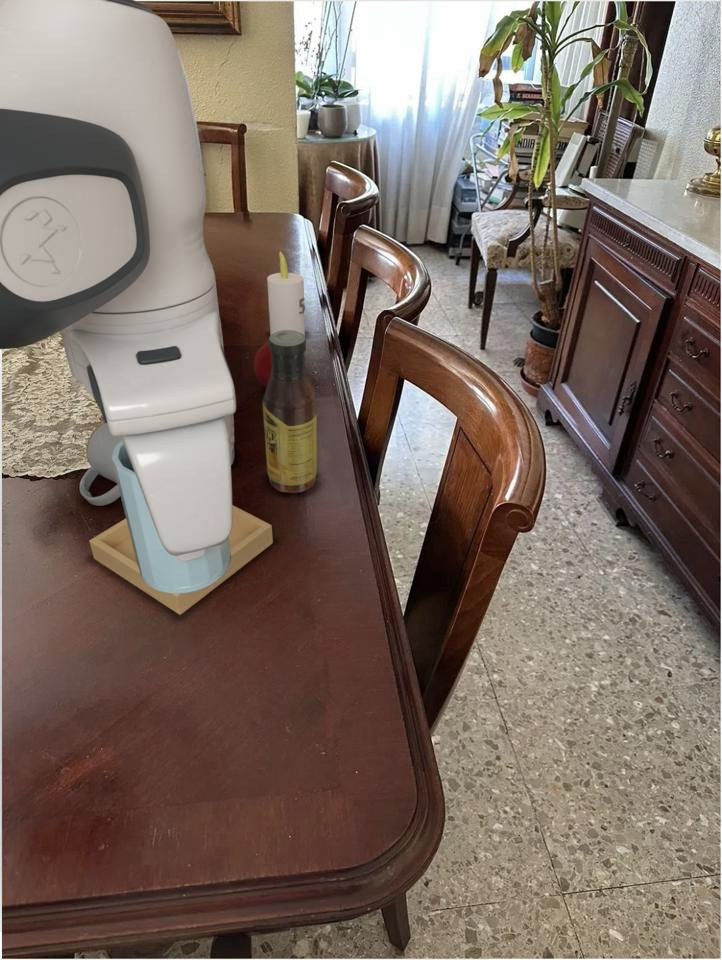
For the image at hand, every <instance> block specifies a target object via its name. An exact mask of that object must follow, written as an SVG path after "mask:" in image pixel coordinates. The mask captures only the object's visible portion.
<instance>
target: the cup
mask: <svg viewBox="0 0 722 960" xmlns="http://www.w3.org/2000/svg"><path fill="white" fill-rule="evenodd" d="M112 462H113V466H114V470H115V474H116V479H117V483H118V487H119V491H120V495H121V496H120V498H121V503H122V507H123V512H124V515H125V519H126V520H127V524H128V528H129V532H130V536H131V540H132V545H133V549H134V553H135V557H136V561H137V565H138V568H139V570H140V574H141V577H142V578H143V580H144V581H145V582H146V584H148V585H149V586H150V587H152V588H154V589H156V590H158V591H161V592H165V593H174V594H180V593H189V592H194V591H197V590H200V589H203V588H205V587H208V586H209V585H211V584H213V583H214V582H216V581H217V580H218V579H220V578H221V577H222V576H223V575H224V574H225V572H226V571H227V569H228V567H229V565H230V562H231V552H230V539H229V538H228V539H227V541H226V542H225V543H223V544H221V545H218V546H215V547H211V548H208V549H205V554H204V555H203V556H202V557H200V558H197V559H194V560H190V561H186V562H182V561H179V560H178V558H177V556H173V555H170V554H168V553H167V551H166V550H165V549H164V547H163V545H162V543H161V541H160V538H159V536H158V534H157V531H156V529H155V526H154V523H153V521H152V518H151V515H150V512H149V510H148V507H147V504H146V502H145V499H144V496H143V493H142V491H141V488H140V485H139V482H138V479H137V477H136V474H135V471H134V469H133V466H132V463H131V461H130V458H129V456H128V453H127V451H126V448H125V446H124V444H123V441H122V440H121V441H120V442H119V443H118V444H117V445H116V446H115V447H114V451H113V455H112ZM117 483H116V484H117Z"/></svg>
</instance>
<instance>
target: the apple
mask: <svg viewBox="0 0 722 960" xmlns="http://www.w3.org/2000/svg"><path fill="white" fill-rule="evenodd" d="M271 368H272V363H271V352H270V350H269V341H268V342H266V343H265V344H263V345H262V346H261V347H260V348H258V350H257V352H256V354H255V357H254V361H253V369H254V370H253V371H254V374H255V377H256V379H257V381H258V382H259V384H260V385H261V386H263V387H264V388H265V389H266V387H267V384H268V381H269V378H270V375H271Z"/></svg>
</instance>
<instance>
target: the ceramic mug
mask: <svg viewBox="0 0 722 960" xmlns="http://www.w3.org/2000/svg"><path fill="white" fill-rule="evenodd" d="M121 440H122V439H121V437H120V436H117V437H115V436H113V435H112V434H111V433H110V431H109V428H108V424H107V423H105V422H103V423H101V424H100V425H98V426H97V427H96V428H95V429H94V430H93V431H92V433H91V434H90V435H89V438H88V440H87V443H86V446H85V447H86V449H85V456H86V460H87V462H88V464H89V465H90V468H88V470H86V472H85V473H84V475H82V478H81V480H80V482H79V492H80V495H81V496H82V497H83V498H84V499H85V500H86V501H87V502H88V503H89V504H90V505H93V506H95V507H103V506H107V505H110V504H112V503H114V502H115V501H117V500H118V499H119V498H121V495H120V491H119V487H118V483H117V479H116V474H115V470H114V466H113V462H112V455H113V451H114V447H115V446H116V445H117V444H118V443H119V442H120V441H121ZM98 475H100V476H102V477H103V478H105V479H108V480H110V481H112V482H114V483H115V484H116V485H115V486H113V487H112V488H111V489H110V490H109V491H107V492H106V493H104V494H101V495H98V496H93V495H92V492H90V487H91V485H92V483H93V481H94V480H95V479H96V478H97V477H98Z"/></svg>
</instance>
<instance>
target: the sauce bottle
mask: <svg viewBox="0 0 722 960" xmlns="http://www.w3.org/2000/svg"><path fill="white" fill-rule="evenodd" d="M268 342H269V350H270V352H271V363H272V368H271V375H270V378H269V381H268V384H267V387H266V388H265V391H264V394H263V397H262V414H263V429H264V431H263V433H264V444H265V458H266V459H265V460H266V472H267V475H268V481H269V483H270V485H271V486H272V487H273V488H274V489H275V490H276V491H278V492H279V493H286V494H298V493H303V492H306V491H308V490H310V489H311V488H312V487H313V486H314V485H315V482H316V480H317V479H316V478H317V473H318V424H317V423H318V422H317V420H318V419H317V415H318V414H317V406H316V398H317V396H316V395H317V394H316V390H315V389H316V388H315V387H314V384H313V382H312V381H311V380H310V378H309V377H308V375H307V374H306V372H307V367H306V361H305V355H306V354H305V353H306V351H307V338H306V335H305V336H304V334H302V333H300V332H297V331H293V330H283V331H278V332H275V333H273V334H272V335H270V336H269V337H268Z"/></svg>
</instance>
